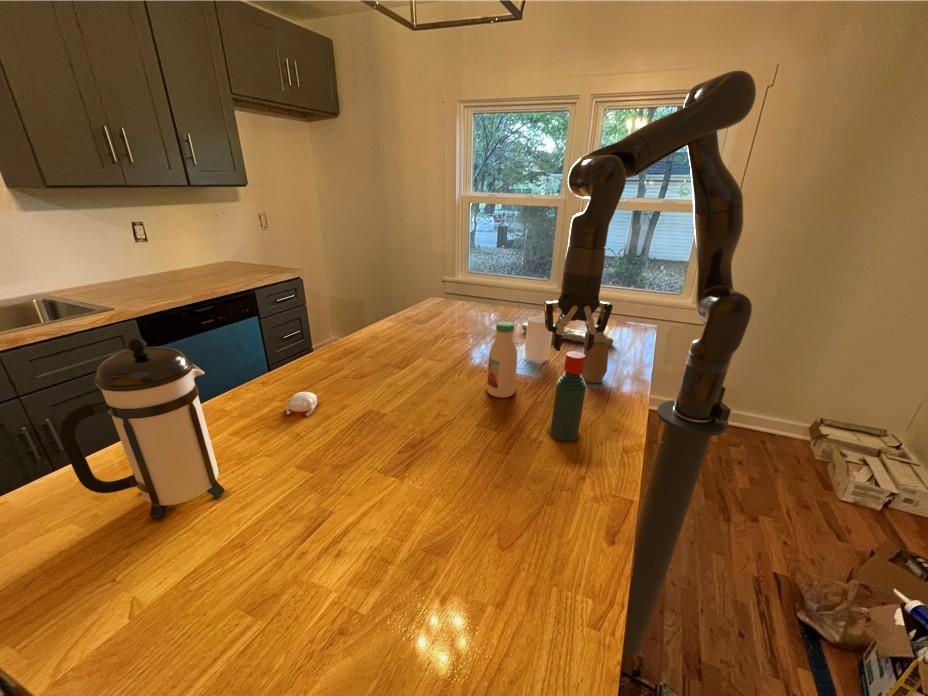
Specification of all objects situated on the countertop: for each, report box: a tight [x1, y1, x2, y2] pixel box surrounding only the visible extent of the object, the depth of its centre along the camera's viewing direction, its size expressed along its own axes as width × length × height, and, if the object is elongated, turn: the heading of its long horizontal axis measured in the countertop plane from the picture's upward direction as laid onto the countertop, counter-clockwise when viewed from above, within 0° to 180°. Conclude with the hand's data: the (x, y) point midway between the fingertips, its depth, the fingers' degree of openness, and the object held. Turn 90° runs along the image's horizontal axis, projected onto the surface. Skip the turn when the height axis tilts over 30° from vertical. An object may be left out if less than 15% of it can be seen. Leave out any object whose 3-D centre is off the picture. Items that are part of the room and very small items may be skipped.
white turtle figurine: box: [285, 391, 318, 416], centre depth 107 cm, size 8×7×4 cm
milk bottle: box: [486, 321, 518, 399], centre depth 115 cm, size 8×8×20 cm
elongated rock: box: [521, 322, 614, 347], centre depth 162 cm, size 35×5×10 cm
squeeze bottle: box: [581, 331, 610, 384], centre depth 125 cm, size 8×8×18 cm
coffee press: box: [59, 337, 226, 520], centre depth 71 cm, size 17×16×30 cm
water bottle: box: [549, 371, 587, 442], centre depth 96 cm, size 6×6×20 cm
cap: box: [563, 350, 585, 374], centre depth 92 cm, size 4×4×4 cm
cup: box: [524, 315, 553, 362], centre depth 138 cm, size 8×8×14 cm
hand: (571, 349), depth 91 cm, fingers open, 5 cm apart
